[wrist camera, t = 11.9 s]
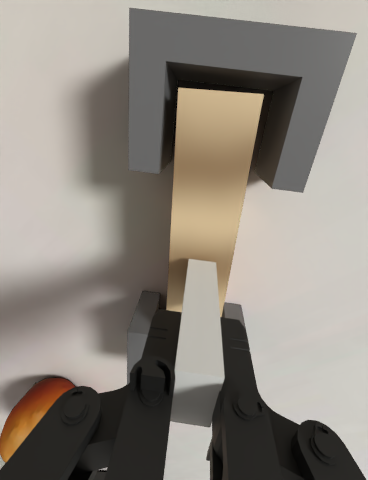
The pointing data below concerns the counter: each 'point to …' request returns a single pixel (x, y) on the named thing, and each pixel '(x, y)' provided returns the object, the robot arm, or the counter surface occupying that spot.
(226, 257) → the oak slat
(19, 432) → the fruit
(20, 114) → the counter surface
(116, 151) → the counter surface
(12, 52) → the counter surface
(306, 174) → the end caps
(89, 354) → the counter surface
